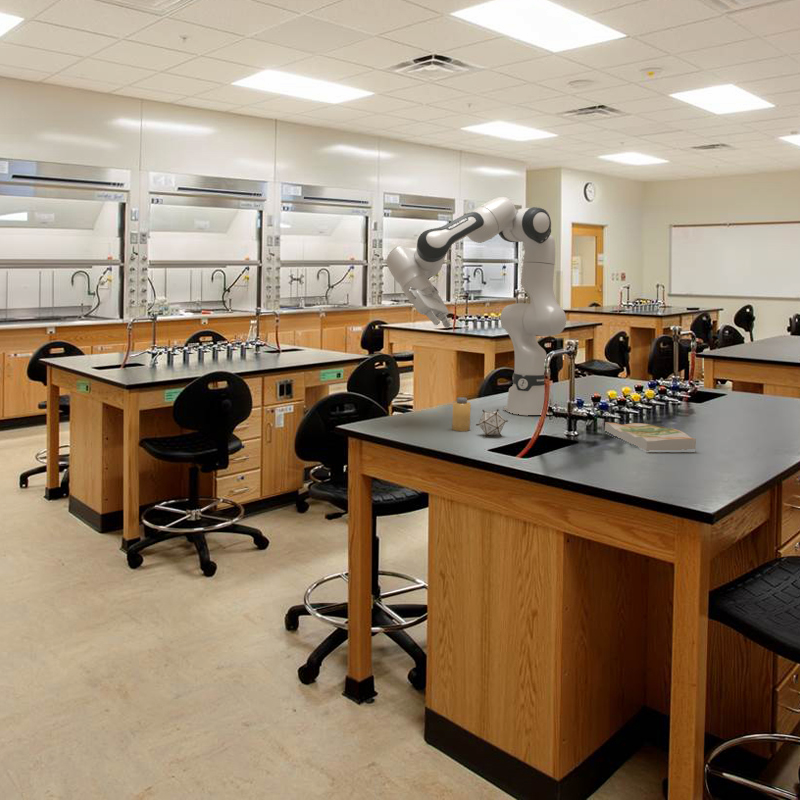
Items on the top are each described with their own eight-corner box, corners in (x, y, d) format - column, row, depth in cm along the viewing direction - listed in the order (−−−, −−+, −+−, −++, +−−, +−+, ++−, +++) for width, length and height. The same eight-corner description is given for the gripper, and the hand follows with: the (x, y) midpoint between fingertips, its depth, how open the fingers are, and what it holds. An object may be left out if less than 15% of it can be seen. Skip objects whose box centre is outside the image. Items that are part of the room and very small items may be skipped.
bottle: (457, 427, 251) (458, 396, 250) (472, 429, 248) (474, 398, 247) (448, 429, 246) (449, 398, 245) (464, 432, 244) (465, 400, 242)
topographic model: (694, 454, 222) (696, 437, 221) (646, 454, 220) (647, 437, 219) (647, 433, 251) (649, 418, 250) (604, 433, 249) (605, 418, 248)
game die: (495, 449, 238) (505, 426, 231) (469, 437, 239) (479, 414, 232) (503, 430, 244) (513, 408, 237) (478, 419, 245) (487, 396, 238)
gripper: (414, 280, 241) (439, 316, 237) (438, 288, 259) (461, 322, 256) (399, 293, 243) (423, 328, 240) (423, 300, 261) (446, 333, 258)
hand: (443, 325), depth 248 cm, fingers open, 8 cm apart
